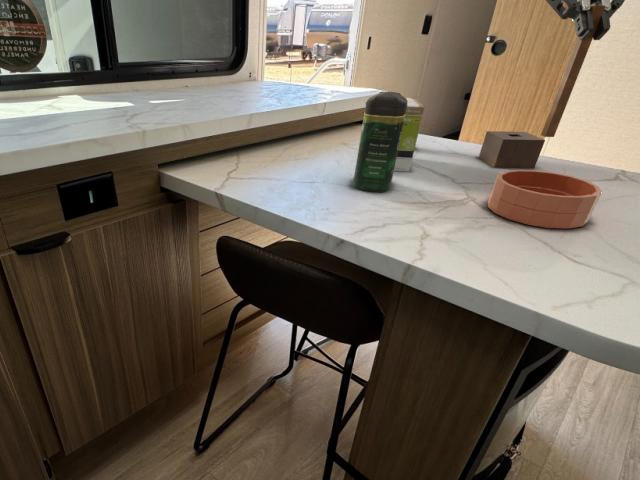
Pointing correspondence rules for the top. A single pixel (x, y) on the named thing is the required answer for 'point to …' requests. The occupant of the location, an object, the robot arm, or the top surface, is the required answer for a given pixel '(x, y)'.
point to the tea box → (409, 135)
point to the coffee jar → (379, 141)
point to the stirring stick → (570, 76)
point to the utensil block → (511, 149)
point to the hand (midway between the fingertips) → (594, 35)
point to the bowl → (543, 198)
